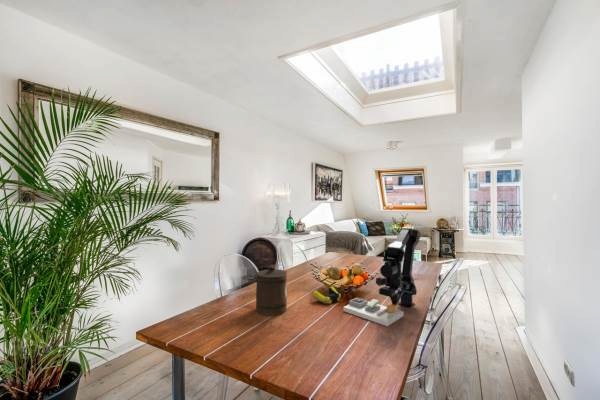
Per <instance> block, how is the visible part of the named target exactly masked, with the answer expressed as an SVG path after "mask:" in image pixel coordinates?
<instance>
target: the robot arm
mask: <svg viewBox="0 0 600 400" xmlns="http://www.w3.org/2000/svg"><path fill="white" fill-rule="evenodd" d="M421 235H422V233H421V231H419V230H418V229H414V228H412V227H405V226H403V227H401V228H400V232H399V233H398V235H397V237H396V238H395V240H394V241H393V242H391V243H390V244H388V246H387V247H386V248H385V251H384V256H383V260H382V261H383V262H384V264H382V266H381V267H380V268H379V269H380V270H379V271H380V274H381V276H382V277H380V276H379V277H375V284H376V285H377V286H378V287H380V288H378V295H381V296H386V297H387V298H388V297H389V298H390V302H391V304H394V305H396V307H397V305H399V306H403V307H407V308H412V307H414V306H415V305H416V303H415V302H413V296H415V295H417V287H416V284H415V279H414V277H413V275H412V272H413V267H414V266H413V264H414V258H415V257H414V256H415V248H416V246H417V245H418V244H419V242H420V239H421ZM381 286H382V287H381ZM399 301H400V302H399Z"/></svg>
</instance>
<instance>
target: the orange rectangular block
mask: <svg viewBox="0 0 600 400" xmlns="http://www.w3.org/2000/svg"><path fill="white" fill-rule="evenodd" d="M386 307H387V311H388V312H391V313H393V312H395V311H396V310H397V306H396V305H394V304H392V303H390V302H389V303H387V304H386Z"/></svg>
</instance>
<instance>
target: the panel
mask: <svg viewBox="0 0 600 400" xmlns="http://www.w3.org/2000/svg"><path fill="white" fill-rule="evenodd" d="M355 299H362V300H363V302H362V303H357V302H354V300H355ZM369 302H370V301H369V300H367V299H363V298H360V297H355V298H353V299H350V300H349V302H348V304H347V305H344V306H343V312H345V313H349V314H350V315H354V316H357V317H360V318H362V319H366V320H368V321H370V322H371V321H372V322H373V323H377V324H380V325H382V326H384V327H385V326H386V327H389V326H390V325H392V324H393V323H395V322H397V321H399V319H401V318H402V317H404V311H401V309H396V311H395V312H393V313H391V312H388V311H387V306H385V305H381V304H379V303H378V304H377V305H375V306H374V307H373V308H370V307H367V304H368V303H369Z"/></svg>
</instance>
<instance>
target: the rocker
mask: <svg viewBox="0 0 600 400" xmlns="http://www.w3.org/2000/svg"><path fill="white" fill-rule="evenodd" d="M379 303H380V300H378V299H375V298H372V299H371V300H370V301H369V303H368V304H367V307H370V308H373V307H374V306H375V305H377V304H379Z"/></svg>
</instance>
